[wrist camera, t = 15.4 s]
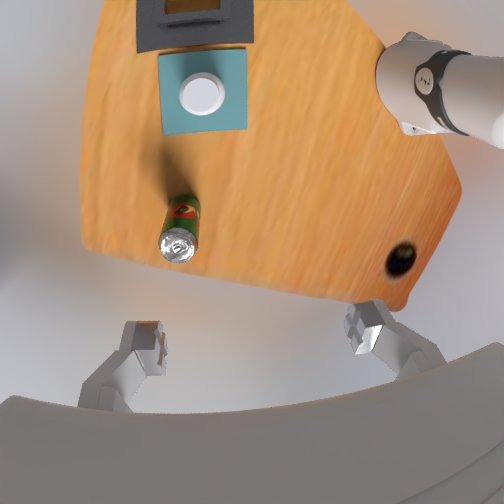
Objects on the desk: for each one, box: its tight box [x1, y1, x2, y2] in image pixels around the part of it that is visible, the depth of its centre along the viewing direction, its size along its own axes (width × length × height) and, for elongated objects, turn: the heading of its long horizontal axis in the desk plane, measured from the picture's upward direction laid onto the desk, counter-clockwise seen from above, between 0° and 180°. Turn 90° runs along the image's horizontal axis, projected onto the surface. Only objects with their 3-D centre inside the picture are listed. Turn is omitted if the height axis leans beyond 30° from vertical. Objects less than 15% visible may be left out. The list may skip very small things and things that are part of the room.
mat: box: [158, 49, 247, 136], centre depth 35 cm, size 12×12×1 cm
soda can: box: [159, 195, 201, 263], centre depth 40 cm, size 5×5×12 cm
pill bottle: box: [179, 72, 225, 115], centre depth 31 cm, size 5×5×10 cm
